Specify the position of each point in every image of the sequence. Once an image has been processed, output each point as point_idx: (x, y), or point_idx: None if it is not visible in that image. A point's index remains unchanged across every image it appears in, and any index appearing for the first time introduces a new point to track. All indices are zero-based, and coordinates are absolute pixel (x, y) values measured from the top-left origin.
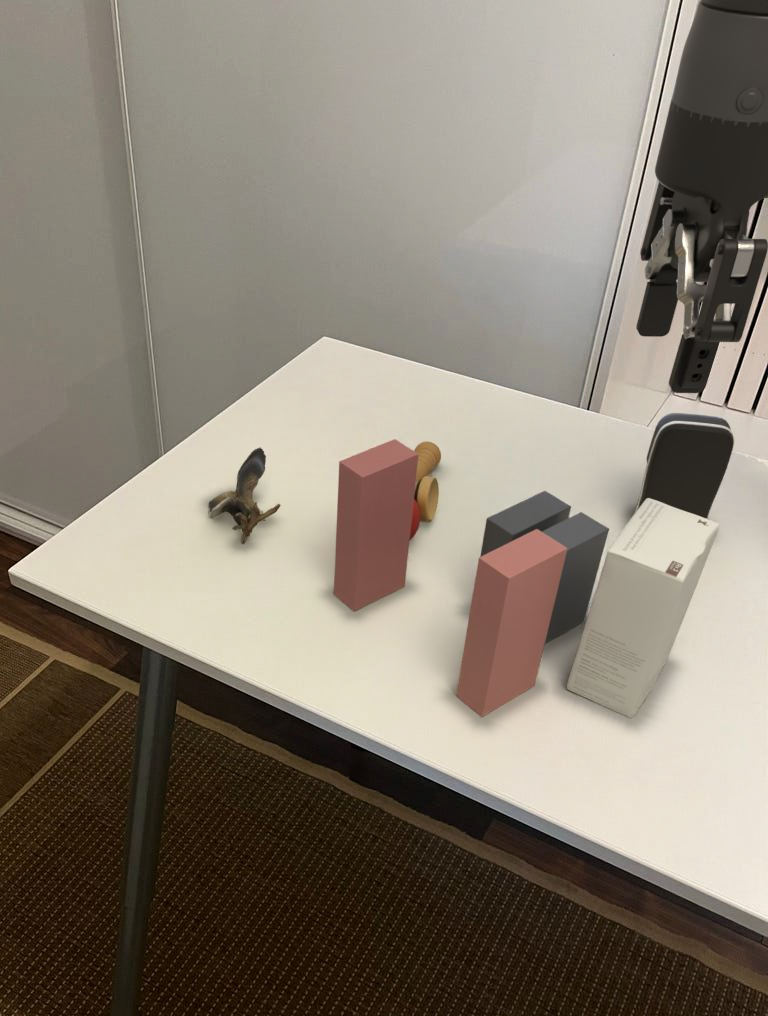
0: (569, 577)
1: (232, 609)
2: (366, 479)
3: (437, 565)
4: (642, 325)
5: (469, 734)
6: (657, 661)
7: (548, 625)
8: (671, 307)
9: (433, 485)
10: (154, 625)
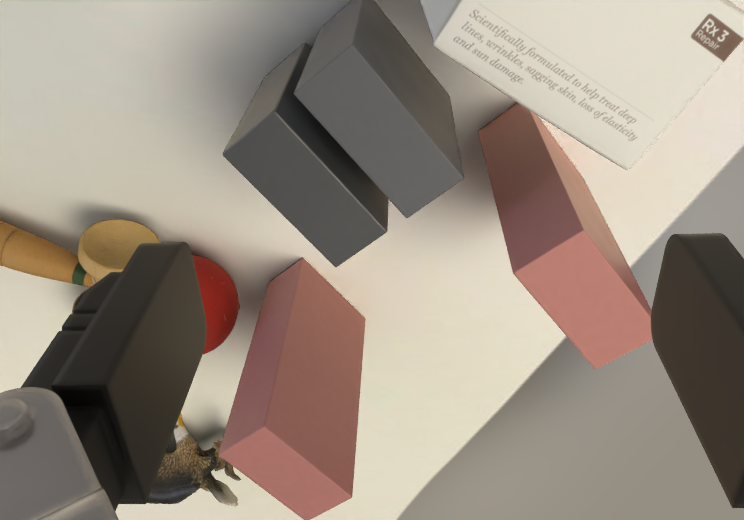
0: (416, 94)
1: (370, 436)
2: (346, 486)
3: (241, 210)
4: (196, 356)
5: (612, 196)
6: None
7: (547, 148)
8: (150, 325)
9: (89, 248)
10: (404, 496)
